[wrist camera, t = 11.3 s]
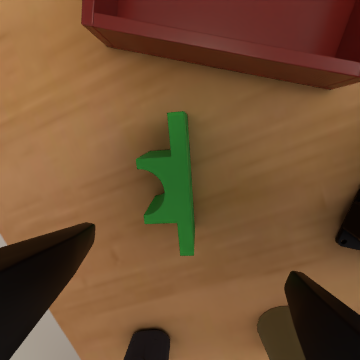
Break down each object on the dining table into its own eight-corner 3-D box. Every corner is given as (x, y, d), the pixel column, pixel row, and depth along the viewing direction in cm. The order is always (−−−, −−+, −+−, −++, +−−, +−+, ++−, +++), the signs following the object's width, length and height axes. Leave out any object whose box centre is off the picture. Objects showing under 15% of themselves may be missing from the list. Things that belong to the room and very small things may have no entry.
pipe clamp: (146, 118, 18) (129, 115, 13) (187, 114, 18) (183, 110, 13) (159, 229, 21) (148, 257, 16) (195, 228, 20) (194, 256, 16)
